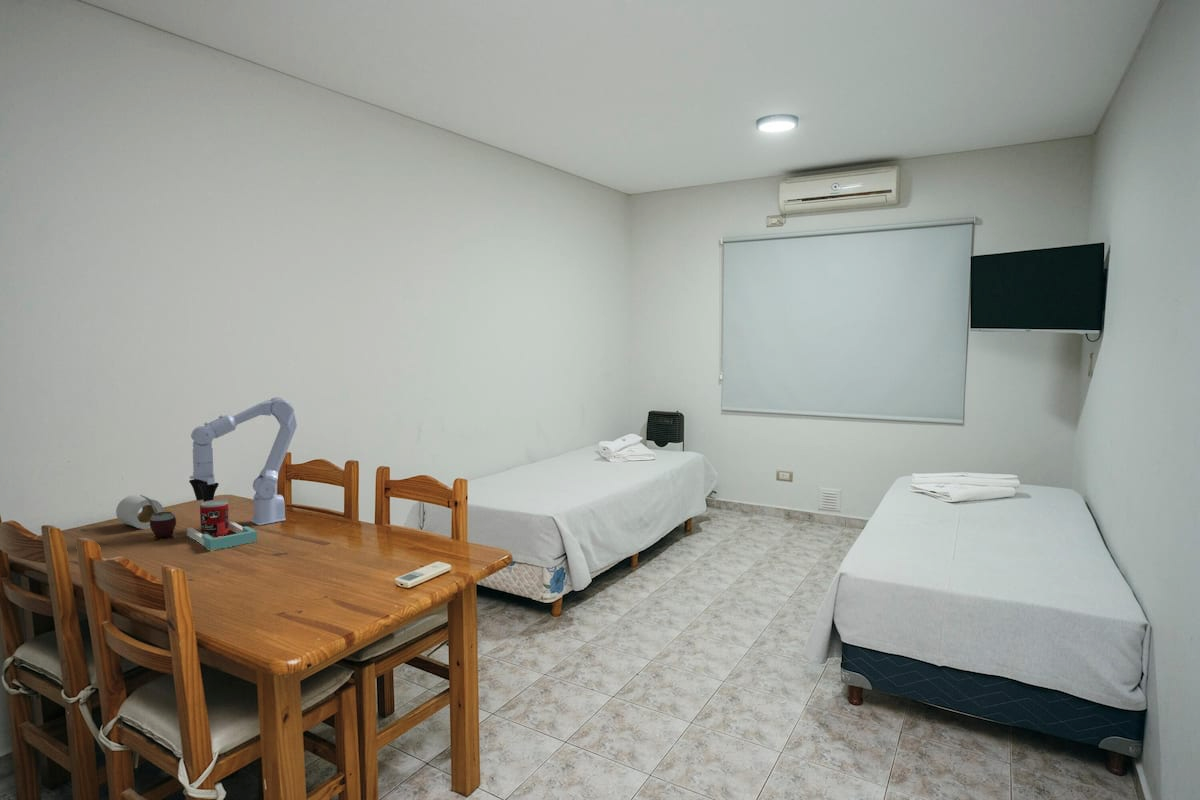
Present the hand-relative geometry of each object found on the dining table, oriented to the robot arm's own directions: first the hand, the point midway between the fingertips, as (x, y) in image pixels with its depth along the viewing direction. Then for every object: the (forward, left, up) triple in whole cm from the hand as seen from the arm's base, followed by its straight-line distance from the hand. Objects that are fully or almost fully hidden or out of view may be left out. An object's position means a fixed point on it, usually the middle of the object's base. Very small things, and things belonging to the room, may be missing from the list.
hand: (204, 501), depth 224 cm
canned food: (0, +9, -10) cm, 13 cm away
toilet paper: (+14, -19, -10) cm, 26 cm away
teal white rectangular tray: (0, +15, -10) cm, 18 cm away
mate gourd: (+13, +1, -10) cm, 16 cm away
